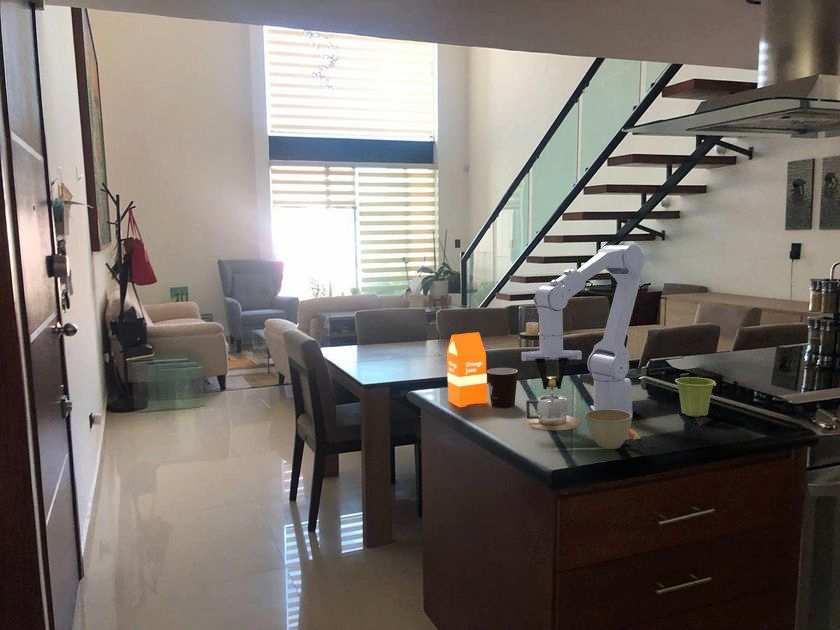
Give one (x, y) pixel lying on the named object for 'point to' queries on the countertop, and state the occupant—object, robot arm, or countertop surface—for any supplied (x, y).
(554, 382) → the plunger
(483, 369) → the orange juice
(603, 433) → the beige bowl
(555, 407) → the press carafe
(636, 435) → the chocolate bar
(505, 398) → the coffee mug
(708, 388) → the plant pot
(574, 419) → the cork mat
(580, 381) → the countertop surface
